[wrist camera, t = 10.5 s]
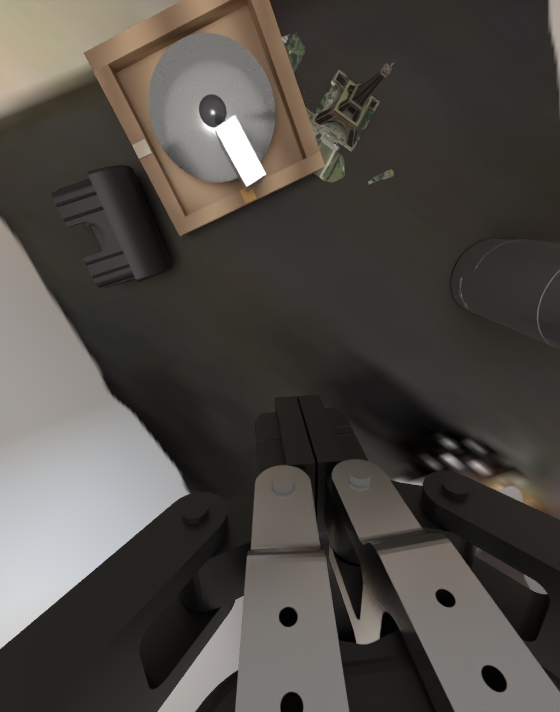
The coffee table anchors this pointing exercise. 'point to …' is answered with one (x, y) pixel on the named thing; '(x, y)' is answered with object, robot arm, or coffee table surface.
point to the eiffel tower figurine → (339, 113)
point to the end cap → (115, 225)
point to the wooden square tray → (130, 103)
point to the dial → (213, 109)
